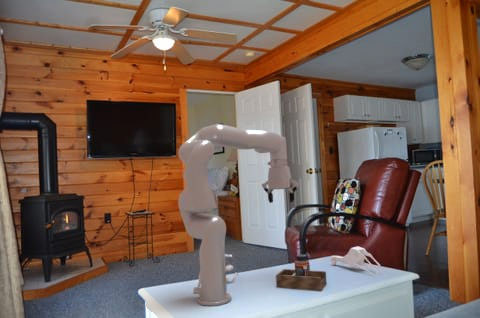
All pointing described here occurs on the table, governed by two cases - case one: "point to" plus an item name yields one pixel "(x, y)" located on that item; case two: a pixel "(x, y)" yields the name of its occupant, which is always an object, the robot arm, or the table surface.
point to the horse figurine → (355, 259)
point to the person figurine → (228, 268)
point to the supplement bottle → (302, 266)
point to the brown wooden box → (301, 280)
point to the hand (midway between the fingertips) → (281, 202)
